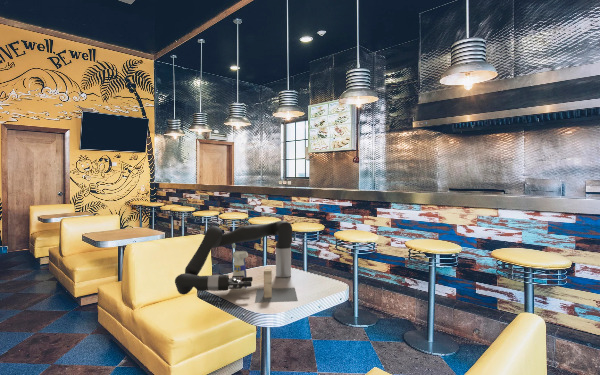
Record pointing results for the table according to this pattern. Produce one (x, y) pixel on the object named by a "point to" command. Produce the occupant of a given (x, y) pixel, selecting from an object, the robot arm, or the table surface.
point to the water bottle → (239, 263)
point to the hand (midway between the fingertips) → (252, 281)
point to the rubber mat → (277, 295)
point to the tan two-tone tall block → (267, 282)
